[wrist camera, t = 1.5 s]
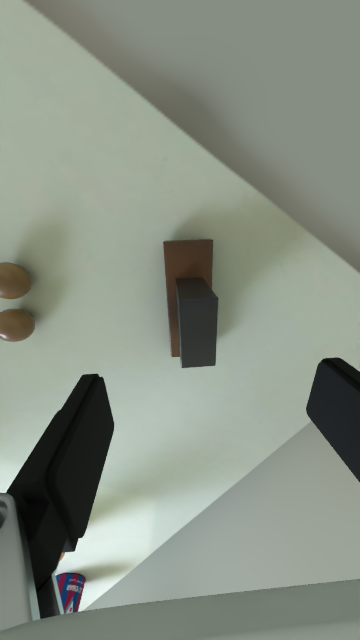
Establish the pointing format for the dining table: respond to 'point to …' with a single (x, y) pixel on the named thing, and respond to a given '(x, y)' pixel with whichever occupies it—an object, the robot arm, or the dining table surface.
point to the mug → (70, 591)
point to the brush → (191, 301)
